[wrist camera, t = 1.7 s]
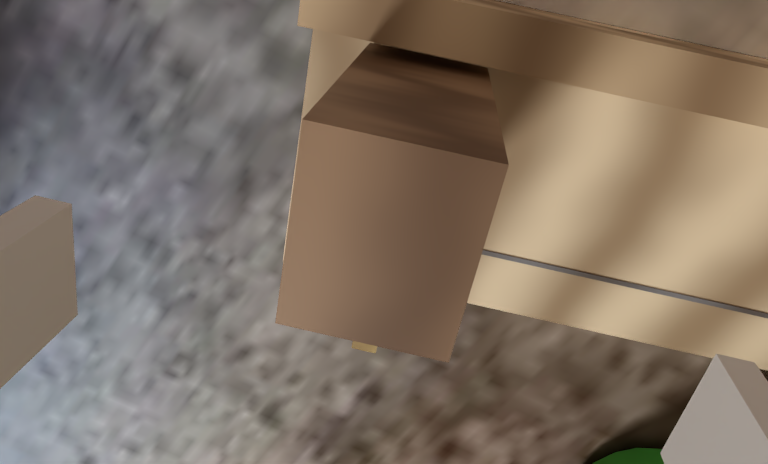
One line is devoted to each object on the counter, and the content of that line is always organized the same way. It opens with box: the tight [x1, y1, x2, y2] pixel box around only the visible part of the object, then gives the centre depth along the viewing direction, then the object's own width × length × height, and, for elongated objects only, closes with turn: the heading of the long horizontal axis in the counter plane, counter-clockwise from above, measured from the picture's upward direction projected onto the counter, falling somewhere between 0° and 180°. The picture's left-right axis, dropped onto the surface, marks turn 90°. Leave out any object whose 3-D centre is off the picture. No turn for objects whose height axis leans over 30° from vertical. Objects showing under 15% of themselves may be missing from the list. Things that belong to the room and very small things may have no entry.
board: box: [283, 0, 768, 371], centre depth 26 cm, size 30×14×4 cm, turn 80°
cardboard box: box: [275, 43, 509, 363], centre depth 23 cm, size 5×14×12 cm, turn 170°
